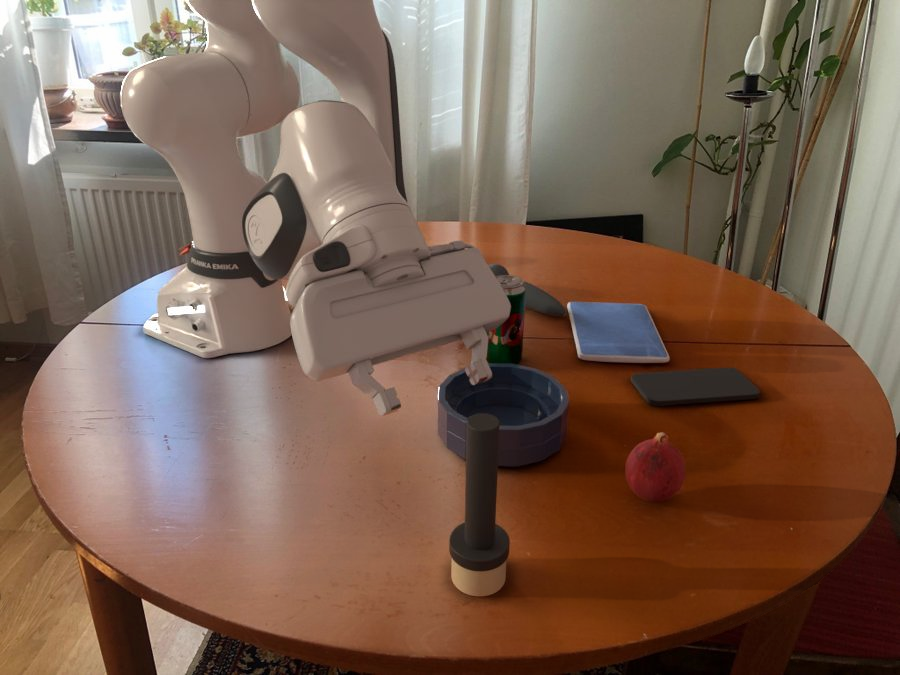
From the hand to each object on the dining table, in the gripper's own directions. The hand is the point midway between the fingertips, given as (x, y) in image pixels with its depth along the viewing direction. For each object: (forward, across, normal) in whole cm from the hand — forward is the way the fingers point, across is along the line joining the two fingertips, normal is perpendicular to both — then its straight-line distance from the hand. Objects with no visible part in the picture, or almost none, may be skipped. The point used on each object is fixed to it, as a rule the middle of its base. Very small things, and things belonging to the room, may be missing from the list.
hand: (438, 396), depth 64 cm
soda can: (-6, -26, -28) cm, 39 cm away
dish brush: (+15, 0, -6) cm, 17 cm away
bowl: (+3, -15, -18) cm, 24 cm away
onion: (+16, -20, -6) cm, 27 cm away
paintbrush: (-18, -41, -39) cm, 59 cm away
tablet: (-5, -45, -27) cm, 53 cm away
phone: (+7, -42, -14) cm, 45 cm away
